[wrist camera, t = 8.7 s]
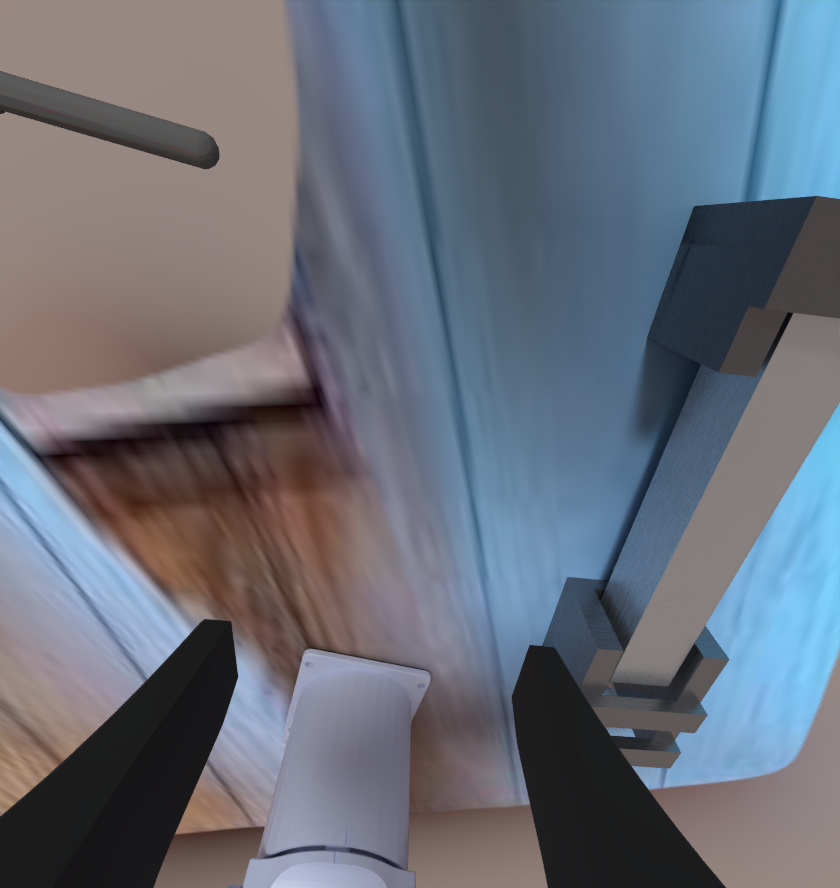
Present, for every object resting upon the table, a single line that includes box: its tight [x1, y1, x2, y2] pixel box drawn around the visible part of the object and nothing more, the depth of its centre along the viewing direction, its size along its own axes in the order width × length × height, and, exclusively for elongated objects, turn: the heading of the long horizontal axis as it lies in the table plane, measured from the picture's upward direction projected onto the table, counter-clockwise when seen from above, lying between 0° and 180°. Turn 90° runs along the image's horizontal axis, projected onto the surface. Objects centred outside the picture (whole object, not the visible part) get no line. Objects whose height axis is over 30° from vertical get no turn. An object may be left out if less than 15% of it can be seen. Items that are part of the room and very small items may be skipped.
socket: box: [648, 196, 840, 377], centre depth 14 cm, size 5×7×5 cm
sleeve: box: [543, 577, 729, 768], centre depth 23 cm, size 8×6×5 cm
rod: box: [600, 312, 840, 686], centre depth 18 cm, size 18×3×3 cm, turn 173°
